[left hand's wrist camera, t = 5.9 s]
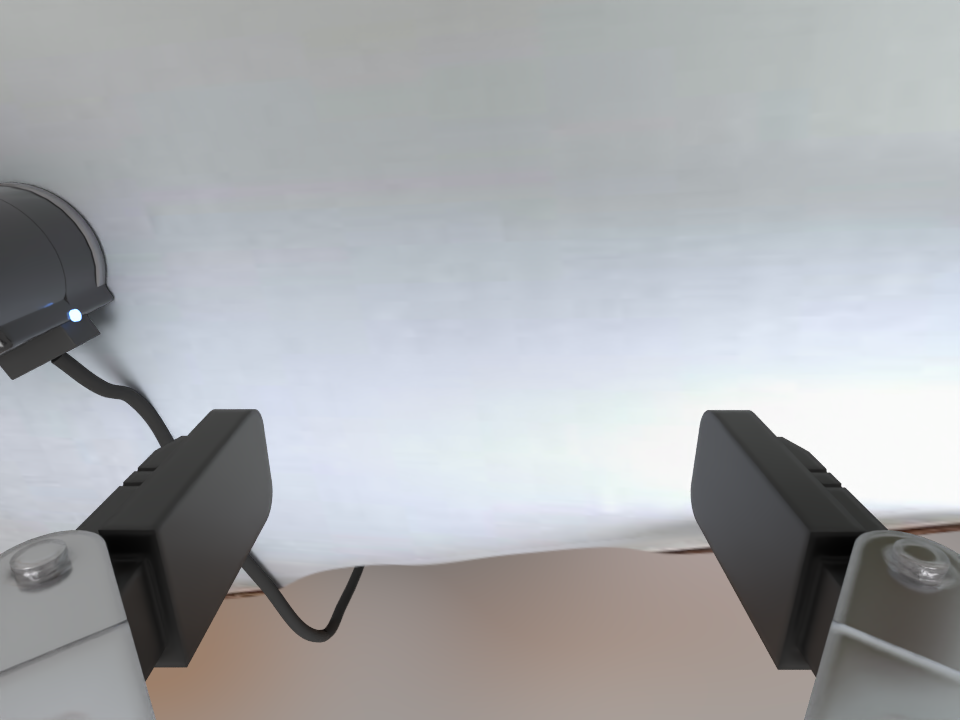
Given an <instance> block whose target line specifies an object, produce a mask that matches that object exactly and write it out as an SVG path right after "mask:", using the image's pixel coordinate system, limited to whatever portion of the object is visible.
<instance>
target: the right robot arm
mask: <svg viewBox="0 0 960 720" xmlns="http://www.w3.org/2000/svg"><path fill="white" fill-rule="evenodd" d="M112 300H113V296H112V295H111V293H110V292H109V290H108V289H107V287H106V285H105V263H104V258H103V254H102V251H101V248H100V245H99V243H98V241H97V239H96V237H95V235H94V233H93V231H92V230H91V228H90V227H89V225H88V224H87V223H86V221H85V220H84V219H83V218H82V217H81V216H80V215H79V213H78V212H76V211H75V210H74V209H73V208H72V207H71V206H70V205H69V204H67V203H66V202H65V201H63V200H62V199H60V198H59V197H57V196H55V195H54V194H52V193H50V192H48V191H46V190H43V189H41V188H38V187H35V186H32V185H28V184H22V183H0V366H1V367H2V368H3V370H4V371H5V372H6V373H7V374H8V376H9V377H10V378H11V379H12V380H14V379H16V378H18V377H20V376H22V375H24V374H25V373H27V372H29V371H31V370H33V369H35V368H37V367H39V366H41V365H43V364H45V363H47V362H49V361H50V360H51V363H53V364H54V365H56V366H57V367H58V368H60V369H61V370H62V371H64V372H65V373H66V374H68V375H69V376H70V377H72V378H73V379H74V380H76V381H77V382H78V383H80V384H81V385H83V386H84V387H86V388H87V389H89V390H91V391H93V392H94V393H96V394H98V395H101V396H103V397H107V398H113V399H121V400H123V401H125V402H127V403H128V404H129V405H130V406H131V407H132V408H134V409H135V410H136V411H137V412H138V413H139V414H140V415H141V417H142V418H143V419H144V420H145V421H146V423H147V424H148V425H149V427H150V428H151V430H152V432H153V433H154V435H155V437H156V438H157V440H158V442H159V444H160V446H161V447H163V446H164V445H166V444H168V443H170V442H172V441H173V438H172V436H171V434H170V433H169V431H168V429H167V427H166V426H165V424H164V423H163V421H162V419H161V418H160V416H159V415H158V414H157V412H156V411H155V409H154V408H153V407H152V406H151V405H150V403H149V402H148V401H147V400H146V399H145V398H143V397H142V396H141V395H140V394H139V393H138V392H137V391H135V390H133V389H131V388H129V387H125V386H119V385H113V384H110V383H108V382H106V381H104V380H102V379H101V378H99V377H98V376H96V375H95V374H93V373H92V372H90V371H89V370H88V369H86V368H85V367H84V366H83V365H81V364H80V363H79V362H78V361H76V360H75V359H74V358H72V357H71V356H70V355H69V354H67V353H66V352H68V351H70V350H72V349H74V348H75V347H77V346H79V345H81V344H83V343H85V342H87V341H88V340H90V339H92V338H94V337H96V336H98V335H99V334H100V332H99V331H98V329H97V328H96V327H95V326H94V324H93V323H92V322H91V320H90V319H89V318H88V316H87V314H89V313H91V312H92V311H94V310H96V309H98V308H100V307H102V306H104V305H106V304H108V303H109V302H111V301H112ZM364 566H365V565H364ZM364 566H355V567H354V570H353V572H352V574H351V576H350V579H349V581H348V583H347V585H346V587H345V589H344V591H343V593H342V595H341V597H340V599H339V601H338V603H337V605H336V607H335V610H334V612H333V614H332V617H331V619H330V621H329V623H328V625H327V626H326V627H325V629H323V630H316V629H313V628H311V627H309V626H308V625H306V624H305V623H304V622H303V621H302V620H301V619H300V618H299V617H298V616H297V614H296V613H295V612H294V611H293V609H292V608H291V607H290V605H289V604H288V602H287V601H286V600H285V598H284V597H283V595H282V594H281V593H280V591H279V590H278V588H277V587H276V586H275V584H274V583H273V582H272V581H271V580H270V578H269V577H268V576H267V575H266V574H265V573H264V571H263V570H262V569H261V568H260V567H259V566H258V564H257V563H256V562H255V561H254V560H253V559H252V557H251V556H250V555H249V554H248V556H247V557H246V559H245V561H244V563H243V565H242V568H243V569H244V570H245V571H246V573H247V574H248V575H249V576H250V577H251V578H252V579H253V581H254V582H255V583H256V584H257V585H258V586H259V587H260V589H261V590H262V591H263V592H264V593H265V595H266V596H267V597H268V599H269V600H270V601H271V603H272V604H273V606H274V607H275V608H276V610H277V611H278V612H279V614H280V615H281V617H282V618H283V619H284V621H285V622H286V623H287V624H288V626H289V627H290V628H291V629H292V630H293V631H294V632H295V633H296V634H298V635H299V636H300V637H302V638H304V639H306V640H308V641H312V642H325V641H327V640H328V639H330V638H331V637H332V636H333V635H334V634H335V633H336V631H337V629H338V627H339V625H340V623H341V620H342V618H343V615H344V612H345V610H346V608H347V606H348V604H349V602H350V600H351V598H352V595H353V593H354V591H355V589H356V587H357V584H358V582H359V579H360V577H361V575H362V572H363V569H364Z"/></svg>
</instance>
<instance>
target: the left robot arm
mask: <svg viewBox="0 0 960 720" xmlns="http://www.w3.org/2000/svg"><path fill="white" fill-rule="evenodd" d="M691 503H692V509H693V513H694V516H695V519H696V521H697V523H698V525H699V527H700V529H701V530H702V532H703V534H704V536H705V538H706V540H707V541H708V543H709V545H710V547H711V549H712V550H713V552H714V554H715V556H716V558H717V560H718V561H719V563H720V565H721V567H722V569H723V570H724V572H725V574H726V576H727V578H728V580H729V581H730V583H731V585H732V587H733V589H734V591H735V592H736V594H737V596H738V598H739V600H740V601H741V603H742V605H743V607H744V609H745V611H746V612H747V614H748V616H749V618H750V620H751V621H752V623H753V625H754V627H755V629H756V631H757V632H758V634H759V636H760V638H761V640H762V642H763V643H764V645H765V647H766V649H767V651H768V652H769V654H770V656H771V658H772V660H773V662H774V663H775V665H776V667H777V669H778V670H812V672H813V673H814V675H815V677H816V680H815V683H814V687H813V690H812V694H811V697H810V701H809V705H808V708H807V712H806V715H805V719H804V720H960V555H959V554H958V553H956V552H955V551H953V550H951V549H949V548H947V547H945V546H943V545H941V544H939V543H937V542H934V541H932V540H929V539H926V538H924V537H920V536H917V535H913V534H909V533H904V532H899V531H891V530H888V529H887V528H886V527H885V526H884V525H883V524H882V523H881V522H880V521H878V520H877V519H876V518H875V517H874V516H873V515H872V514H871V513H870V512H869V511H868V510H867V509H866V508H865V507H864V506H863V505H862V504H861V503H860V502H859V501H858V500H857V499H856V498H855V497H854V496H853V495H852V494H851V493H850V492H849V491H848V490H847V489H846V488H842V487H841V483H840V482H839V481H838V480H837V479H836V478H835V477H834V476H833V475H832V474H831V473H827V471H826V468H825V467H824V466H823V465H822V464H821V463H820V462H819V461H818V460H817V459H816V458H815V457H814V456H813V455H812V454H811V453H810V452H808V451H807V450H805V449H803V448H801V447H799V446H798V445H796V444H794V443H792V442H790V441H789V440H787V439H785V438H783V437H776V436H775V434H774V433H773V432H772V431H771V430H770V429H769V428H768V427H767V426H766V425H765V424H764V423H763V422H762V421H761V420H760V419H759V418H758V417H757V416H756V415H755V414H754V413H753V412H752V411H750V410H707V411H706V412H705V413H704V414H703V416H702V419H701V422H700V428H699V435H698V442H697V448H696V455H695V462H694V469H693V476H692V482H691ZM271 504H272V480H271V473H270V466H269V459H268V452H267V446H266V439H265V432H264V425H263V420H262V417H261V414H260V413H259V411H258V410H256V409H214V410H212V411H210V412H209V413H208V414H207V416H206V417H205V418H204V419H203V420H202V421H201V422H200V423H199V424H198V425H197V426H196V427H195V428H194V429H193V430H192V431H191V432H190V433H189V435H188V436H181V437H179V438H177V439H175V440H173V441H172V442H170V443H168V444H166V445H164V446H163V447H161V448H159V449H157V450H155V451H154V452H153V453H152V454H151V455H150V456H149V457H148V458H147V459H146V460H145V461H144V462H143V463H142V464H141V465H140V466H139V467H138V471H134V472H133V473H132V474H131V475H130V476H129V477H128V478H127V479H126V480H125V481H124V482H123V486H119V487H118V488H117V489H116V490H115V491H114V492H113V493H112V494H111V495H110V496H109V497H108V498H107V499H106V500H105V501H104V502H103V503H102V504H101V505H100V506H99V507H98V508H97V509H96V510H95V511H94V512H93V513H92V514H91V515H90V516H89V517H88V518H87V519H86V520H85V521H84V522H83V523H82V524H81V525H80V526H79V527H78V528H77V529H76V530H69V531H61V532H56V533H51V534H47V535H43V536H40V537H36V538H34V539H31V540H28V541H26V542H23V543H21V544H19V545H16V546H15V547H13V548H11V549H9V550H7V551H5V552H4V553H2V554H0V720H156V719H155V715H154V712H153V708H152V705H151V701H150V697H149V694H148V690H147V687H146V683H145V681H146V680H147V678H148V676H149V675H150V673H151V671H152V670H153V668H154V667H187V666H188V664H189V662H190V661H191V659H192V657H193V655H194V653H195V652H196V650H197V648H198V646H199V644H200V642H201V640H202V639H203V637H204V635H205V633H206V631H207V629H208V628H209V626H210V624H211V622H212V620H213V618H214V617H215V615H216V613H217V611H218V609H219V607H220V605H221V604H222V602H223V600H224V598H225V596H226V594H227V593H228V591H229V589H230V587H231V585H232V583H233V581H234V580H235V578H236V576H237V574H238V572H239V570H240V569H241V567H242V565H243V563H244V561H245V559H246V557H247V556H248V554H249V552H250V550H251V548H252V546H253V545H254V543H255V541H256V539H257V537H258V535H259V534H260V532H261V530H262V528H263V526H264V524H265V522H266V521H267V518H268V516H269V513H270V509H271Z"/></svg>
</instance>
